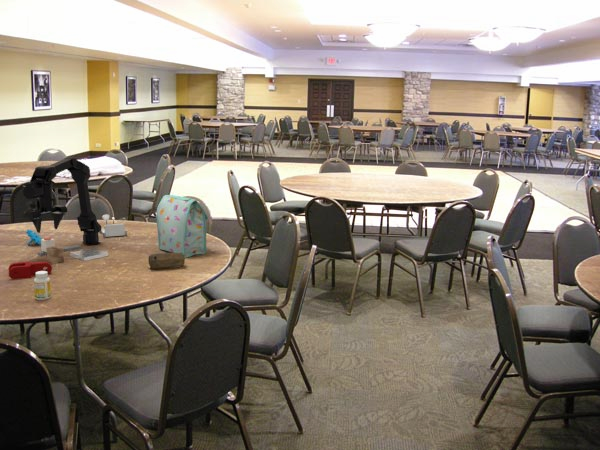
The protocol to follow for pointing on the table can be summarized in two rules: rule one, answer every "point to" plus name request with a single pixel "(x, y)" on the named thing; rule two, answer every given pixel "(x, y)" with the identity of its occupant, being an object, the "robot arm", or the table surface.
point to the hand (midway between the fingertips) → (47, 230)
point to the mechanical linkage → (27, 269)
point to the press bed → (88, 254)
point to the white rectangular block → (47, 243)
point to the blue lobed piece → (33, 237)
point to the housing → (55, 254)
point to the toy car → (113, 228)
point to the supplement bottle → (42, 286)
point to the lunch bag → (181, 225)
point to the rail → (63, 249)
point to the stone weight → (166, 260)
